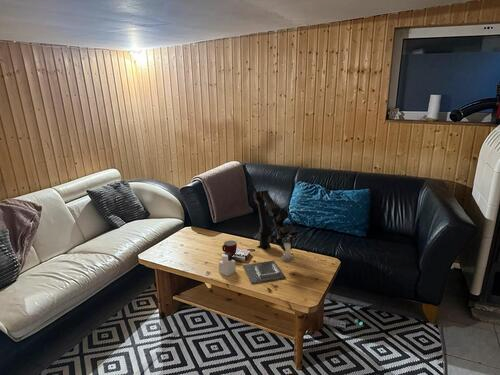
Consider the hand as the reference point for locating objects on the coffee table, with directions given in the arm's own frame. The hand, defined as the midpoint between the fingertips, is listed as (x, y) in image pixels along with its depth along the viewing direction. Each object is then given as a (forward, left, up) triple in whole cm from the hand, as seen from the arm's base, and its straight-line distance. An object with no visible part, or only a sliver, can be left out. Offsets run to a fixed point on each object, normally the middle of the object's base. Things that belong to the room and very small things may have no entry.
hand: (288, 250), depth 189 cm
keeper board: (-10, -11, -13) cm, 20 cm away
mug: (-39, -11, -14) cm, 42 cm away
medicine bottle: (-26, -25, -14) cm, 38 cm away
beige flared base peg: (-1, +1, -7) cm, 7 cm away
